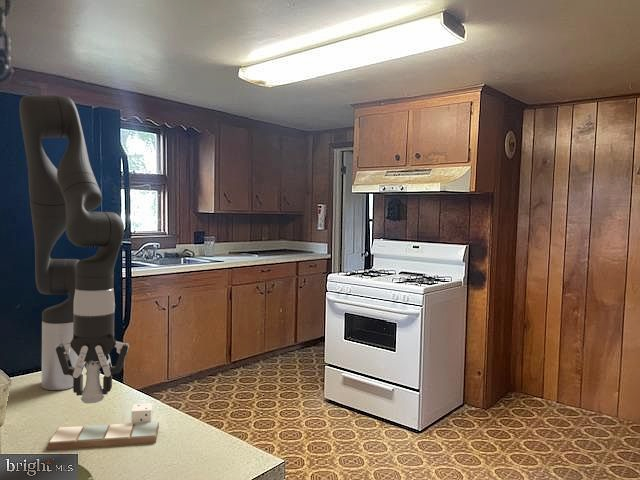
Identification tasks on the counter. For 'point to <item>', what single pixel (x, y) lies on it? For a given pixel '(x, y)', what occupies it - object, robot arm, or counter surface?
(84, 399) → the rook chess piece
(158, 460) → the counter surface
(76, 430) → the board
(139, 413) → the die
